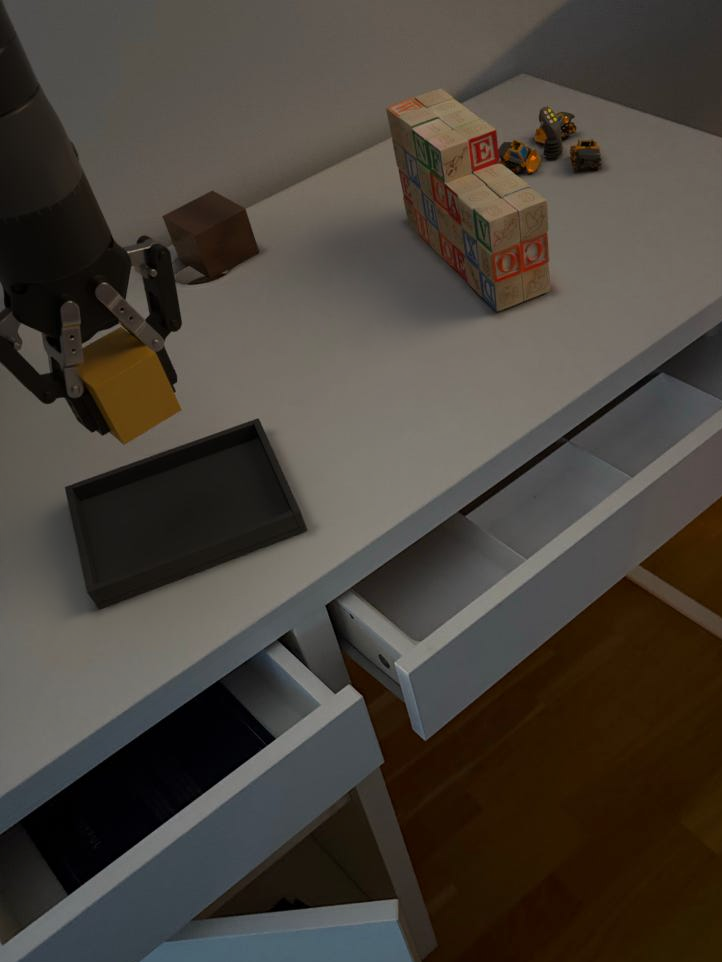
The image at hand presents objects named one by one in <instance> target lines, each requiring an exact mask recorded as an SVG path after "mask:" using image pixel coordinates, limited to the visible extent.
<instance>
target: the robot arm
mask: <svg viewBox="0 0 722 962" xmlns="http://www.w3.org/2000/svg"><path fill="white" fill-rule="evenodd" d="M42 87H43V86H41V83H40V82H39V79H38V77H37V75H36V73H35V71H34V69H33V66H32V64H31V61H30V59H29V57H28V55H27V53H26V51H25V48H24V46H23V44H22V42H21V39H20V37H19V35H18V33H17V30H15V26H14V24H13V22H12V20H11V18H10V15H9V12H8V10H7V8H6V5H5V4H4V0H0V284H1V287H2V292H3V305H4V307H5V308H3V309H2V310H1V311H0V364H1V365H2V366H3V367H4V368H5V369H6V370H7V371H8V372H9V373H10V374H11V375H13V376H14V378H15V379H16V380H17V381H19V383H20V384H21V385H22V386H24V387H25V388H26V389H27V390H28V391H29V392H31V394H32V395H33V396H35V397H36V398H37V399H38V400H39V401H40V402H41V403H43V404H44V405H50V404H54V402H55V401H56V400H57V399H60V398H61V399H62V398H64V399H65V401H66V403H67V405H68V406H69V408H70V410H71V412H72V413H73V416H74V418H75V419H76V420H77V421H78V422H77V423H79V424H80V425H81V426H83V427H84V428H85V429H86V430H87V431H89V432H90V433H91V434H93V433H96V432H97V433H98V434H99V435H100V436H101V437H104V436H105V435H107V434H110V433H109V432H110V428H109V426H108V425H107V423H106V421H105V419H104V417H103V415H102V414H101V412H100V410H99V408H98V406H97V404H96V403H95V401H94V399H93V397H92V395H91V393H90V392H89V391H88V390H87V389H86V388H84V383H83V374H82V365H83V364H84V357H83V349H82V348H83V344H85V343H87V342H88V341H90V340H91V339H92V338H94V336H95V335H96V334H98V333H99V332H103V331H106V330H110V329H112V328H114V327H116V326H117V325H120V327H122V328H123V329H124V330H126V331H127V332H128V333H130V334H131V335H132V336H134V337H135V338H137V339H138V340H139V341H141V342H142V343H143V344H145V345H146V346H147V347H149V348H150V349H151V350H153V351H154V352H155V353H156V354H157V356H158V359H159V361H160V363H161V365H162V367H163V370H164V372H165V374H166V376H167V378H168V381H169V383H170V385H171V387H172V389H173V392H174V394H175V393H176V392H177V390H176V387H175V386H174V385H175V384H177V383H178V374H177V372H176V370H175V367H174V365H173V363H172V361H171V358H170V356H169V353H168V352H167V349H166V347H165V342H166V339H167V337H168V336H169V335H170V334H171V333H177V332H178V331H179V330H180V329H181V328H182V326H183V320H182V319H183V318H182V314H181V313H182V312H181V308H180V301H179V296H178V290H177V283H176V277H175V273H174V272H175V271H174V267H173V260H172V254H171V250H170V249H169V248H168V247H166V246H165V245H163V244H161V243H160V242H158V241H157V240H155V239H153V238H152V237H151V236H149V235H147V234H144V235H141V236H139V237H138V238H137V240H136V243H135V244H132V245H127V246H123V247H122V245H120V244H119V243H118V242H117V241H116V240H115V238H114V237H113V233H112V231H111V229H110V227H109V225H108V223H107V220H106V218H105V216H104V214H103V211H102V209H101V207H100V205H99V202H98V200H97V198H96V195H95V194H94V191H93V189H92V186H91V184H90V182H89V180H88V177H87V175H86V173H85V171H84V169H83V166H82V164H81V162H80V157H79V156H80V155H79V153H78V151H77V148H76V146H75V144H74V143H73V141H71V139H70V137H69V135H68V133H67V131H66V129H65V126H64V125H63V122H62V121H61V118H60V117H59V115H58V113H57V111H56V110H55V108H54V107H53V105H52V103H51V102H50V100H49V99H48V97H47V95H46V93H45V92H44V90H43V88H42ZM132 267H133V268H134V271H135V272H136V273H137V274H138V275H139V276H141V277H142V283H143V287H144V293H145V299H146V303H147V308H148V315H147V316H146V318H145V317H143V316H142V315H141V314H140V312H138V311H137V310H136V309H135V308H134V307H133V306H132V305H131V304H130V303H128V301H127V300H126V299H127V294H128V289H129V284H130V283H129V282H130V277H131V271H132ZM21 325H24V326H26V327H28V328H30V329H32V330H34V331H37V332H39V333H40V334H41V339H42V346H43V348H44V351H45V352H46V355H47V360H48V367H49V372H46V373H41V374H40V372H39V371H37V369H35V368H34V367H33V365H32V364H31V363H30V362H29V361H28V360H26V358H24V357H23V355H22V354H21V353H20V352H19V351H21V349H22V346H23V340H22V337H21V336H20V334H19V328H20V326H21Z"/></svg>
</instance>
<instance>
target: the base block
mask: <svg viewBox="0 0 722 962" xmlns="http://www.w3.org/2000/svg"><path fill="white" fill-rule="evenodd" d="M162 220H163V222H164V224H165V227H166V231H167V232H168V235H169V237H170V240H171V242H172V246H173V247H174V251H175V252H176V255H177V258H178V260H179V261H181V262H182V263H184V264H186V265H187V266H189V267H190V268H192V269H193V270H195V271H196V272H198V273H200V274H201V275H203V276H204V277H206V278H208V279H209V280H212V279H214V278H216V277H219V276H220V275H221V274H224V273H225V272H227V271H229V270H230V269H232V268H234V267H236V266H237V265H239V264H241V263H243V262H244V261H247V260H248V259H250V258H252V257H253V256H255V255H258V254H259V253H260V250H259V247H258V246H259V245H258V243H257V241H256V237H255V234H254V231H253V228H252V224H251V221H250V218H249V215H248V212H247V209H246V208H245V207H243V206H242V205H240V204H238V203H237V202H235V201H233V200H231V199H229V198H227V197H226V196H223V195H221V194H220V193H218V192H216V191H215V190H211V191H208V192H207V193H204V194H203V195H200V196H199V197H197V198H195V199H193V200H191V201H189V202H187V203H185V204H182V205H181V206H179V207H177V208H175V209H173V210H171V211H169V212H168V213H165V214H163V215H162Z"/></svg>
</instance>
